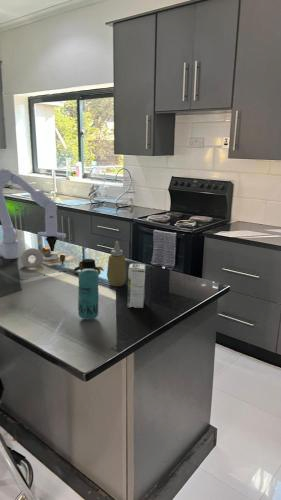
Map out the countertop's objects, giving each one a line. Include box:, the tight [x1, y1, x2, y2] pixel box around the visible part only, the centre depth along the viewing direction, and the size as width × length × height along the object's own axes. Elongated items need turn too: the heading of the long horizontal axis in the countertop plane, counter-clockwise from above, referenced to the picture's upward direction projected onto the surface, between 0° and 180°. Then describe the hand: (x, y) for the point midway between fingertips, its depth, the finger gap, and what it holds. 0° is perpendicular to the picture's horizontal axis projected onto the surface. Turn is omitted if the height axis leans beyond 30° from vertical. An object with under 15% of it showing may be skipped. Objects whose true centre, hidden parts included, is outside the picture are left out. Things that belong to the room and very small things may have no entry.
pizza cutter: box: [42, 246, 58, 261], centre depth 185 cm, size 15×10×4 cm, turn 14°
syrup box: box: [126, 263, 146, 309], centre depth 132 cm, size 6×6×14 cm
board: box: [29, 246, 81, 267], centre depth 185 cm, size 20×17×5 cm
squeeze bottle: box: [106, 240, 127, 287], centre depth 152 cm, size 8×8×18 cm
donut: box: [20, 247, 43, 269], centre depth 170 cm, size 10×4×10 cm, turn 112°
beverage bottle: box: [77, 258, 100, 320], centre depth 118 cm, size 6×7×20 cm
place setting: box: [60, 255, 105, 276], centre depth 172 cm, size 18×20×6 cm
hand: (52, 250), depth 190 cm, fingers closed
